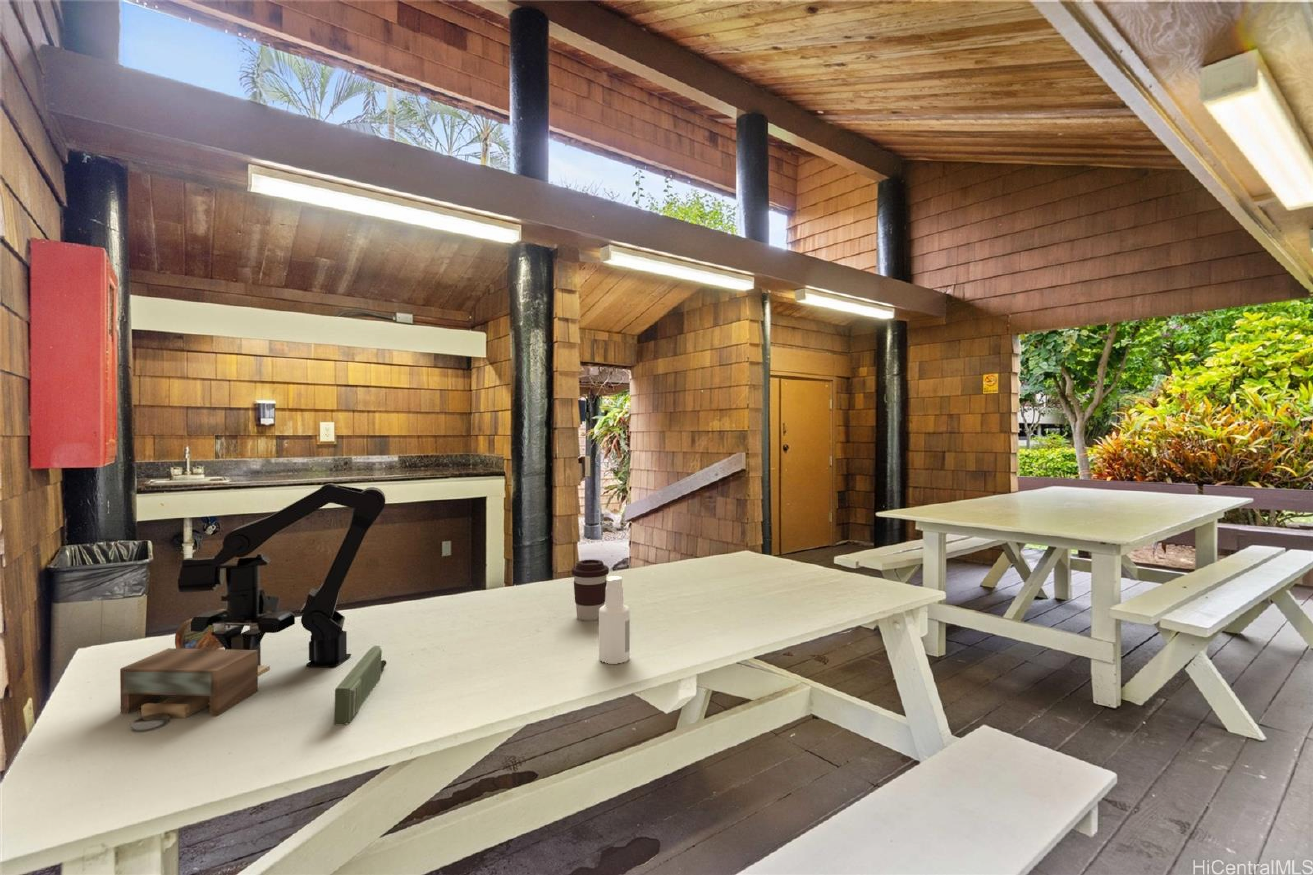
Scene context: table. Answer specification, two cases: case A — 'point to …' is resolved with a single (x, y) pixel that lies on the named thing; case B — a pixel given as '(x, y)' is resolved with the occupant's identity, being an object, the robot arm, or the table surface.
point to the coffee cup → (589, 588)
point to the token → (150, 722)
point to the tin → (196, 638)
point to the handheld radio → (358, 685)
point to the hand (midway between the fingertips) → (243, 662)
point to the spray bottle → (614, 624)
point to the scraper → (188, 703)
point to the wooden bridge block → (191, 677)
